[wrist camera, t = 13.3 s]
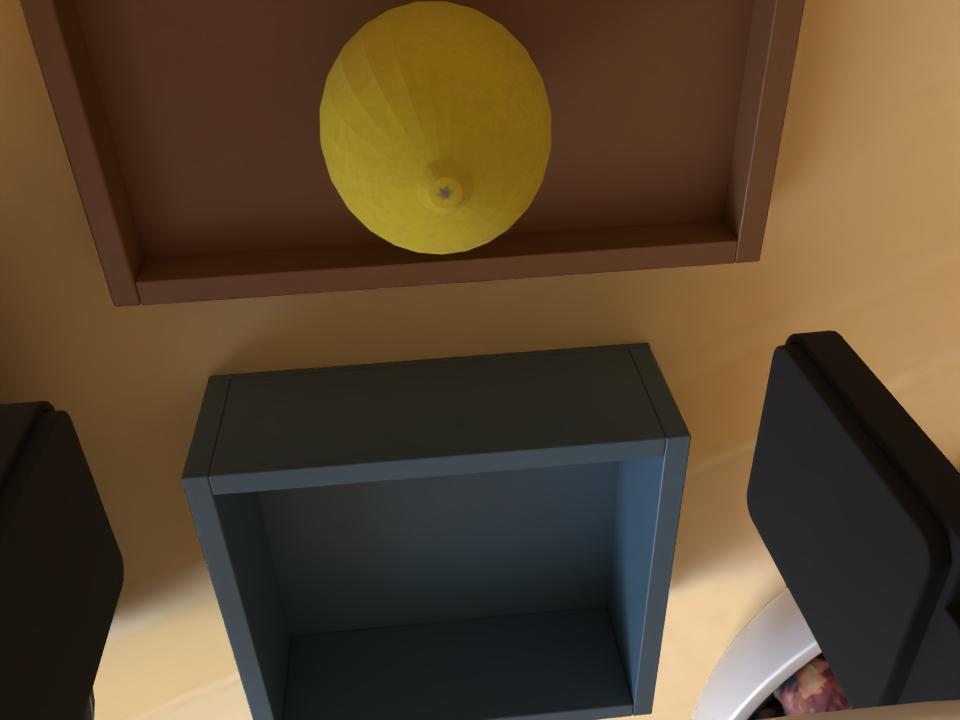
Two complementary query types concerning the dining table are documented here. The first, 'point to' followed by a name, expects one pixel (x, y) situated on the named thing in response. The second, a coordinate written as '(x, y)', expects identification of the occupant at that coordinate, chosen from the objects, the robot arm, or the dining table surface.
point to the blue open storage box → (443, 534)
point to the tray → (303, 171)
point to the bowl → (771, 671)
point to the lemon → (435, 127)
